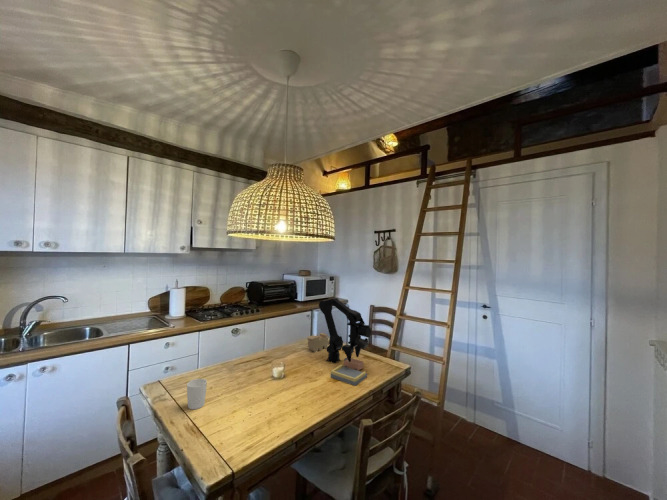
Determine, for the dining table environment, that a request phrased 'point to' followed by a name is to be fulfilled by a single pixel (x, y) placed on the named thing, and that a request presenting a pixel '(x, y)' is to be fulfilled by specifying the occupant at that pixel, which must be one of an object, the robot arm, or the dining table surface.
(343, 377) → the dock
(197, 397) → the white cup
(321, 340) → the toy train
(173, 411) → the dining table surface
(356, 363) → the pink panel on base
